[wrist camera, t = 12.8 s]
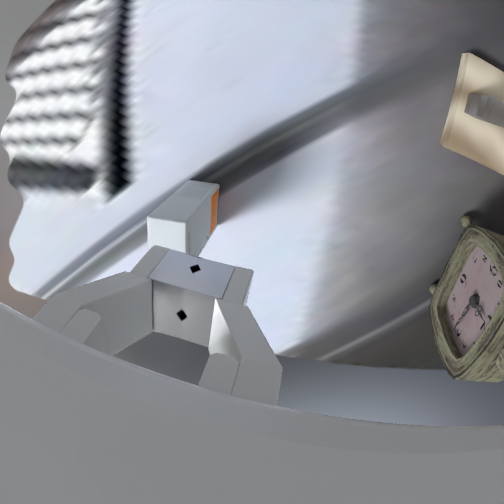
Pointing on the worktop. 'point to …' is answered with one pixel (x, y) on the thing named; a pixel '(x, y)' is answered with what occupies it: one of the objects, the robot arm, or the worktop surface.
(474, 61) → the rod stand
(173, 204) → the skincare box
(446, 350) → the tabletop clock
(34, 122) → the worktop surface
